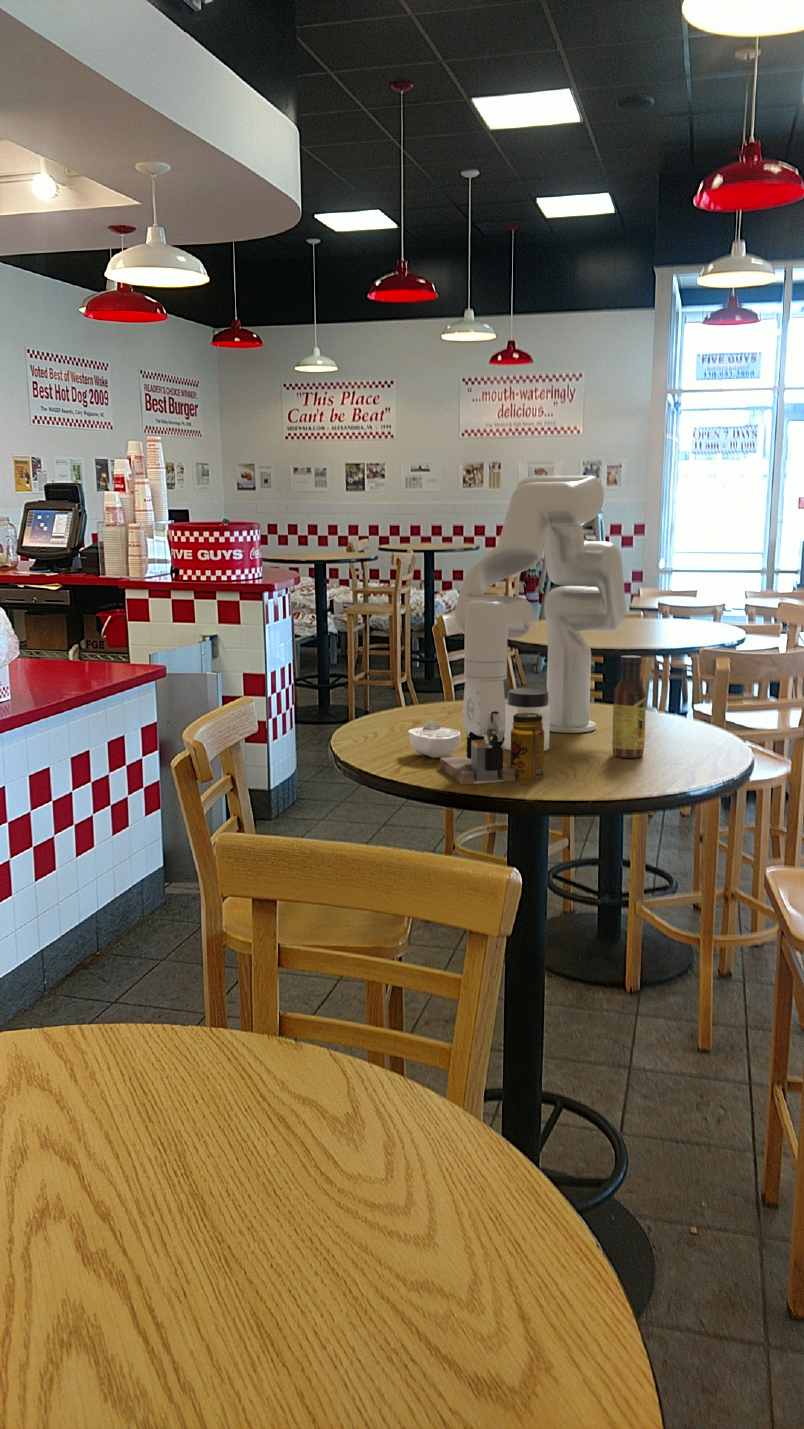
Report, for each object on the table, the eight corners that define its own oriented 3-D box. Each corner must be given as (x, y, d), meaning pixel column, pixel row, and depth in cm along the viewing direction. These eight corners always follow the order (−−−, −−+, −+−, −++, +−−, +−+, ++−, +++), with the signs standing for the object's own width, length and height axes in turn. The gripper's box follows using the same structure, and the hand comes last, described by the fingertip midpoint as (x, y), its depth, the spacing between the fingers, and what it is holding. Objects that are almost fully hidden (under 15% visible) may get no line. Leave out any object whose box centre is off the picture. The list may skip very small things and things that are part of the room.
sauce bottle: (644, 760, 208) (648, 658, 204) (611, 758, 209) (615, 658, 205) (643, 752, 214) (647, 654, 210) (611, 751, 215) (615, 653, 212)
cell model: (415, 764, 205) (415, 729, 203) (403, 751, 216) (403, 718, 215) (467, 762, 206) (467, 727, 205) (452, 749, 218) (452, 716, 217)
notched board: (440, 768, 201) (440, 757, 201) (490, 764, 204) (490, 754, 204) (462, 784, 189) (462, 773, 189) (515, 780, 192) (515, 769, 191)
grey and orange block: (471, 777, 194) (471, 740, 192) (491, 775, 195) (492, 739, 193) (476, 780, 191) (477, 743, 189) (497, 779, 192) (498, 742, 190)
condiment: (500, 780, 194) (501, 715, 192) (525, 771, 201) (526, 708, 199) (534, 786, 190) (535, 719, 188) (559, 777, 196) (560, 713, 194)
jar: (556, 751, 215) (557, 693, 213) (521, 755, 212) (523, 696, 210) (531, 743, 223) (533, 686, 221) (498, 747, 220) (499, 689, 217)
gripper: (450, 664, 196) (449, 754, 199) (482, 677, 180) (480, 776, 183) (488, 662, 198) (487, 752, 201) (523, 676, 182) (521, 773, 185)
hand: (484, 763), depth 192 cm, fingers open, 9 cm apart
